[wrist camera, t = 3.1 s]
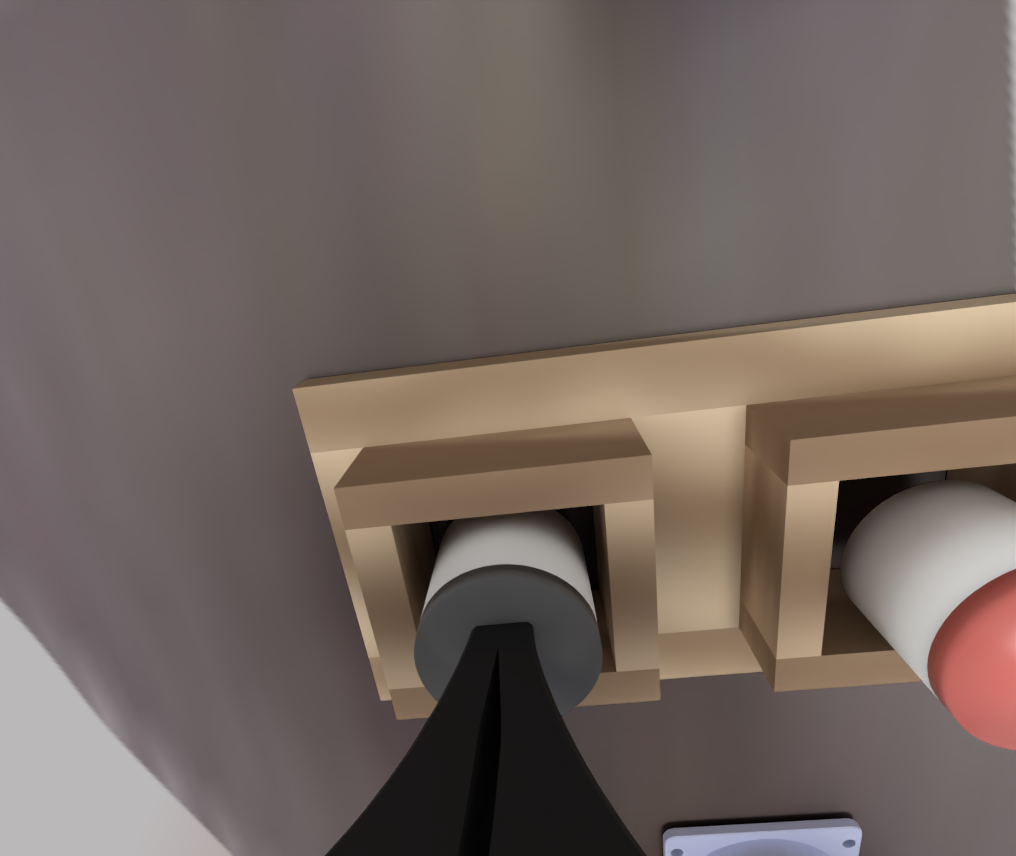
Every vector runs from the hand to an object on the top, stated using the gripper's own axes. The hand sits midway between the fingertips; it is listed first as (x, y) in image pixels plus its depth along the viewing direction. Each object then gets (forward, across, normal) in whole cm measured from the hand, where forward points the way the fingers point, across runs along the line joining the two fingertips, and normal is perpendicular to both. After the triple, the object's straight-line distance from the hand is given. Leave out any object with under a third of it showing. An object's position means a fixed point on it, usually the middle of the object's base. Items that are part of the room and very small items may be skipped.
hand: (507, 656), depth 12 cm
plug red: (+2, -11, 0) cm, 11 cm away
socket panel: (+6, -6, 0) cm, 8 cm away
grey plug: (+4, 0, 0) cm, 4 cm away
